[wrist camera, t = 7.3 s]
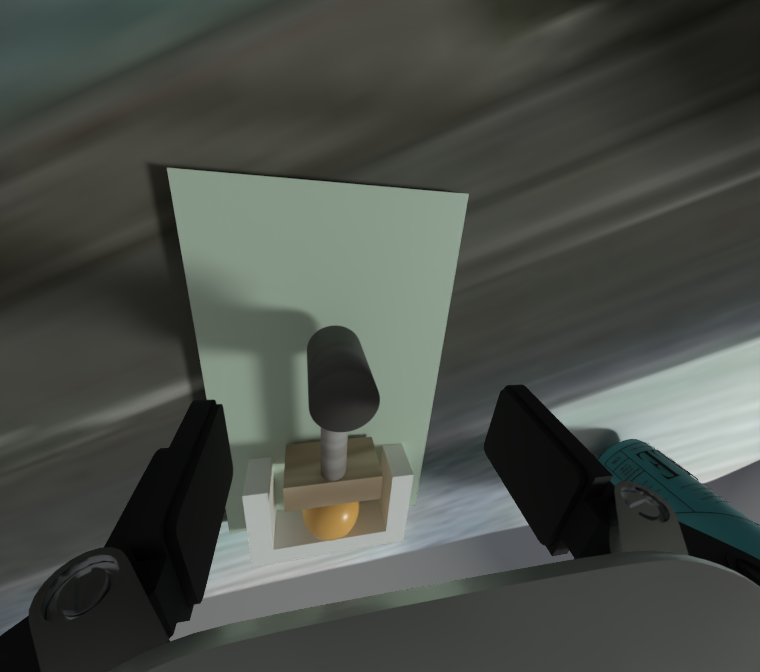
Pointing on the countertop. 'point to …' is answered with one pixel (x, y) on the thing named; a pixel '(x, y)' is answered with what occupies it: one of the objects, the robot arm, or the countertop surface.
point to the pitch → (314, 303)
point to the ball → (331, 520)
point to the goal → (287, 529)
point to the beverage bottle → (681, 494)
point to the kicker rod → (335, 427)
